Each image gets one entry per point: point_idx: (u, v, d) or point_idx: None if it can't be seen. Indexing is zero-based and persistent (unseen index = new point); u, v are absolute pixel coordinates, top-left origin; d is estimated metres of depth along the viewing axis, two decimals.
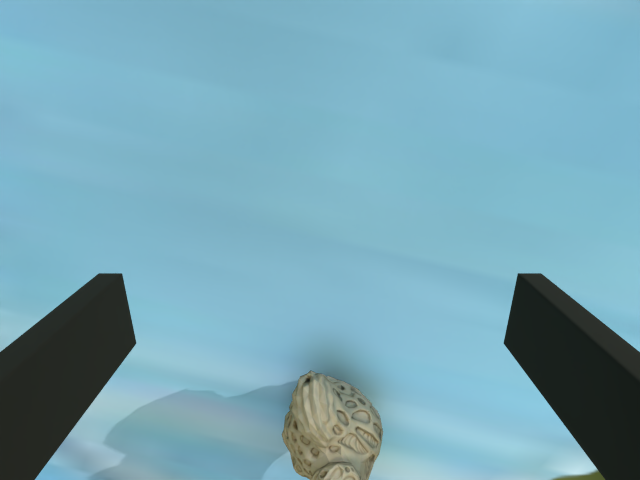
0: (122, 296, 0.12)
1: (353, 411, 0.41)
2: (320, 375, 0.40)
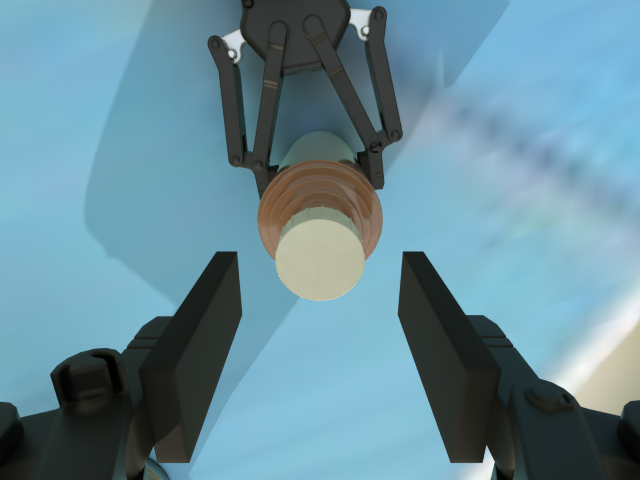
0: (236, 271, 0.14)
1: None
2: None
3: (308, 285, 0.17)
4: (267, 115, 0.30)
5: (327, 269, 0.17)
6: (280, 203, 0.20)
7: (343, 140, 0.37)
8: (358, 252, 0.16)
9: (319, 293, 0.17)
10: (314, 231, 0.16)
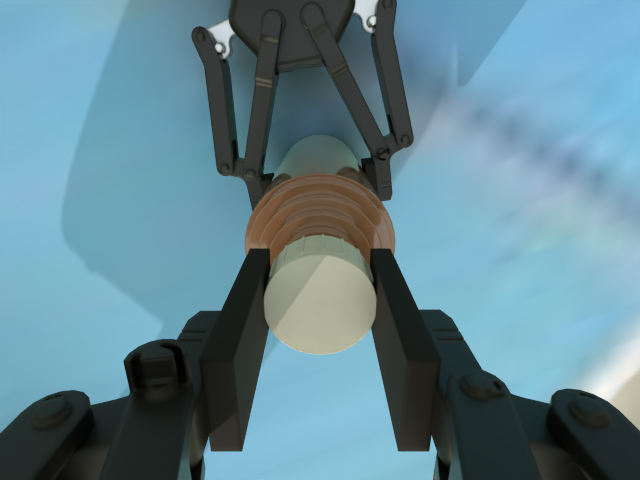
0: (269, 267, 0.14)
1: None
2: None
3: (305, 336, 0.13)
4: (260, 118, 0.27)
5: (329, 316, 0.13)
6: (271, 227, 0.16)
7: (346, 145, 0.34)
8: (369, 295, 0.13)
9: (319, 345, 0.13)
10: (312, 270, 0.12)
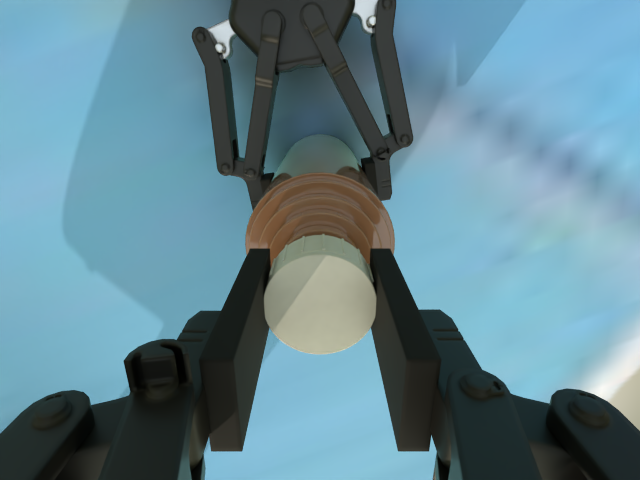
0: (269, 267, 0.14)
1: None
2: None
3: (356, 312, 0.13)
4: (260, 118, 0.27)
5: (328, 296, 0.13)
6: (271, 225, 0.16)
7: (345, 144, 0.34)
8: (293, 268, 0.12)
9: (365, 297, 0.13)
10: (283, 322, 0.13)
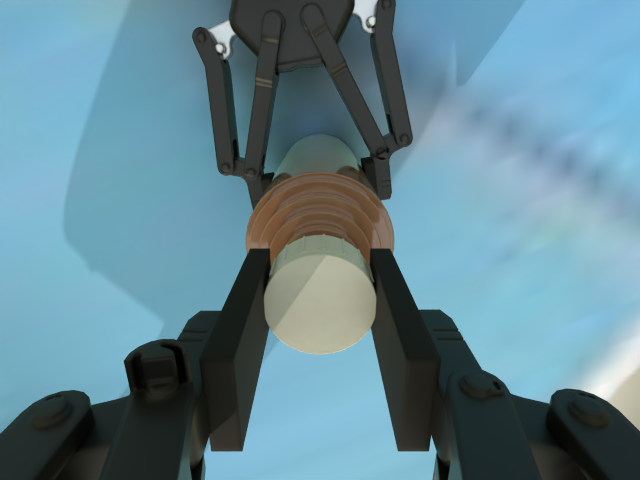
0: (270, 267, 0.14)
1: None
2: None
3: (315, 273, 0.12)
4: (260, 117, 0.27)
5: (306, 303, 0.13)
6: (272, 225, 0.16)
7: (345, 144, 0.34)
8: (286, 337, 0.13)
9: (296, 271, 0.12)
10: (346, 334, 0.13)
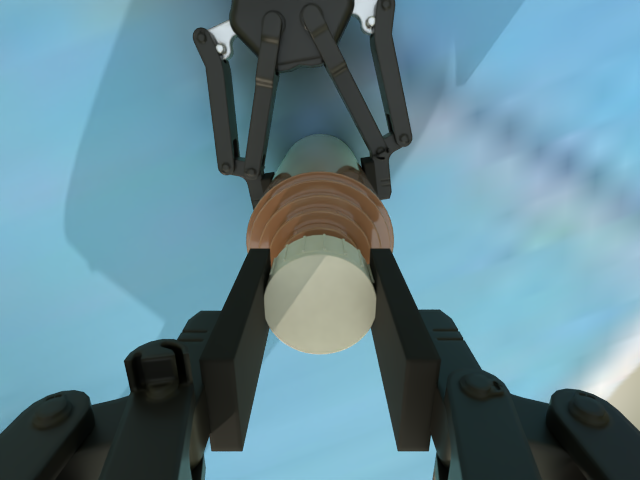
0: (270, 267, 0.14)
1: None
2: None
3: (286, 319, 0.13)
4: (260, 117, 0.27)
5: (319, 319, 0.13)
6: (272, 224, 0.17)
7: (345, 144, 0.34)
8: (363, 327, 0.13)
9: (288, 334, 0.13)
10: (344, 276, 0.12)
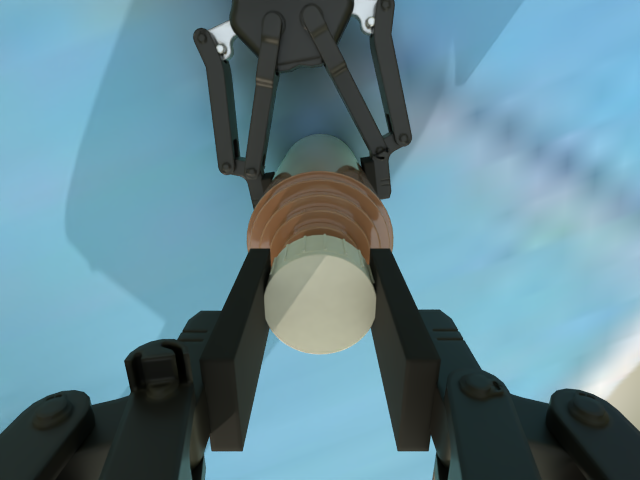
0: (270, 267, 0.14)
1: None
2: None
3: (342, 332, 0.13)
4: (261, 117, 0.27)
5: (334, 304, 0.13)
6: (272, 223, 0.17)
7: (345, 144, 0.34)
8: (331, 262, 0.12)
9: (359, 326, 0.13)
10: (280, 295, 0.13)
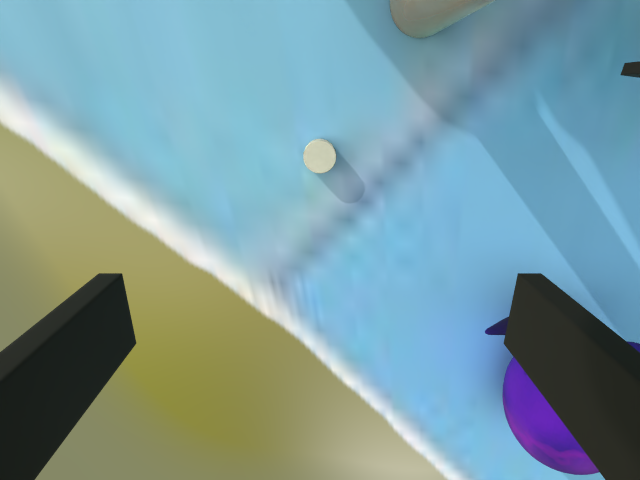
0: (122, 296, 0.12)
1: None
2: None
3: (326, 165, 0.46)
4: None
5: (323, 156, 0.46)
6: None
7: None
8: (323, 143, 0.45)
9: (331, 163, 0.46)
10: (308, 153, 0.45)
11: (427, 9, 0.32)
